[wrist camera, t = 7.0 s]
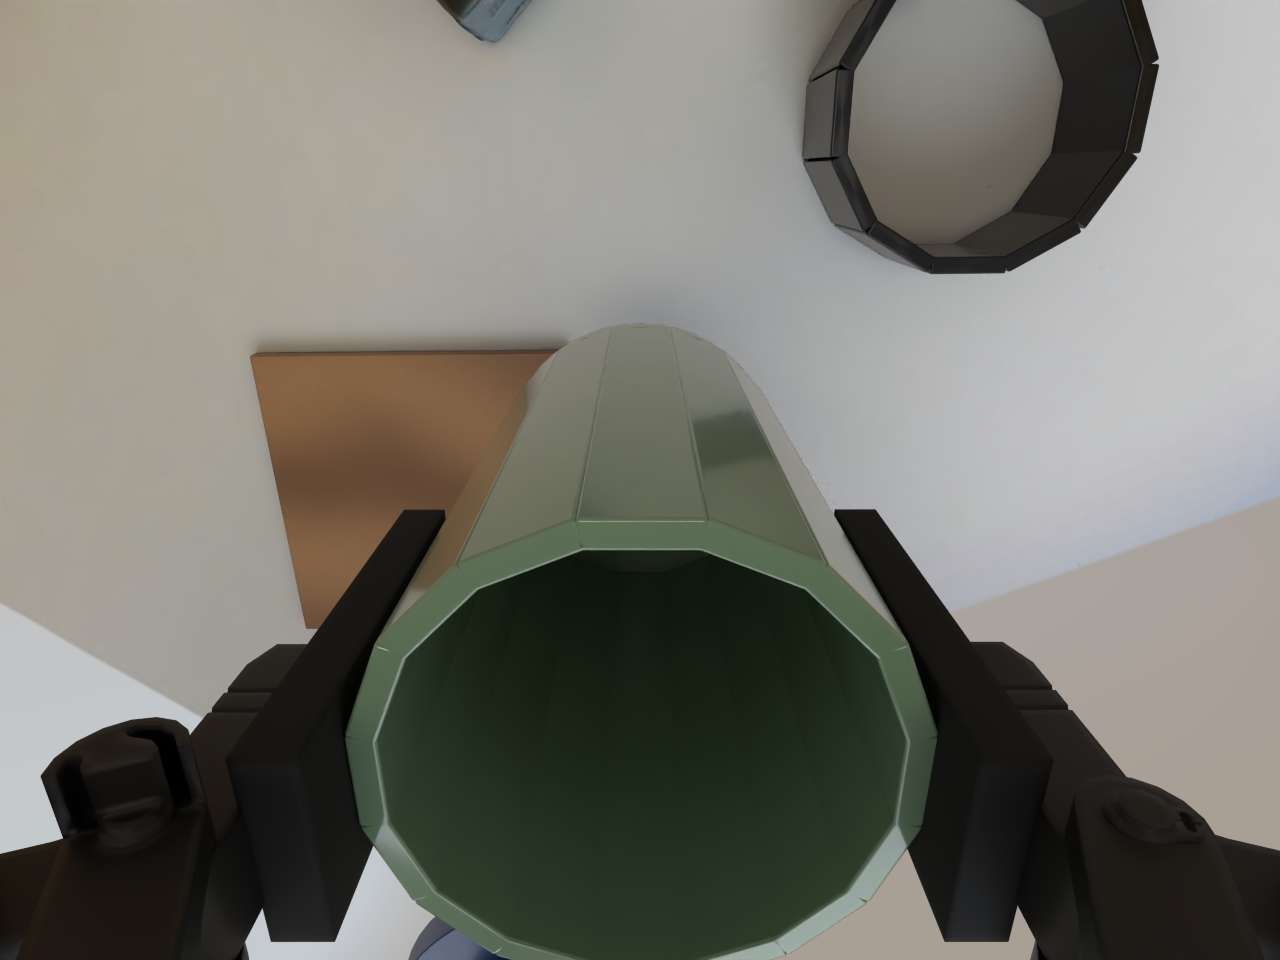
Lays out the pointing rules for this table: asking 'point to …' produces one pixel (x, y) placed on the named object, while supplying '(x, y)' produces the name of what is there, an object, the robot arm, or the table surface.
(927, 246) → the ring cup holder
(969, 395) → the table surface
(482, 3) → the beverage carton
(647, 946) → the cup
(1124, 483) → the table surface
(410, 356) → the cork tile
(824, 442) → the table surface
